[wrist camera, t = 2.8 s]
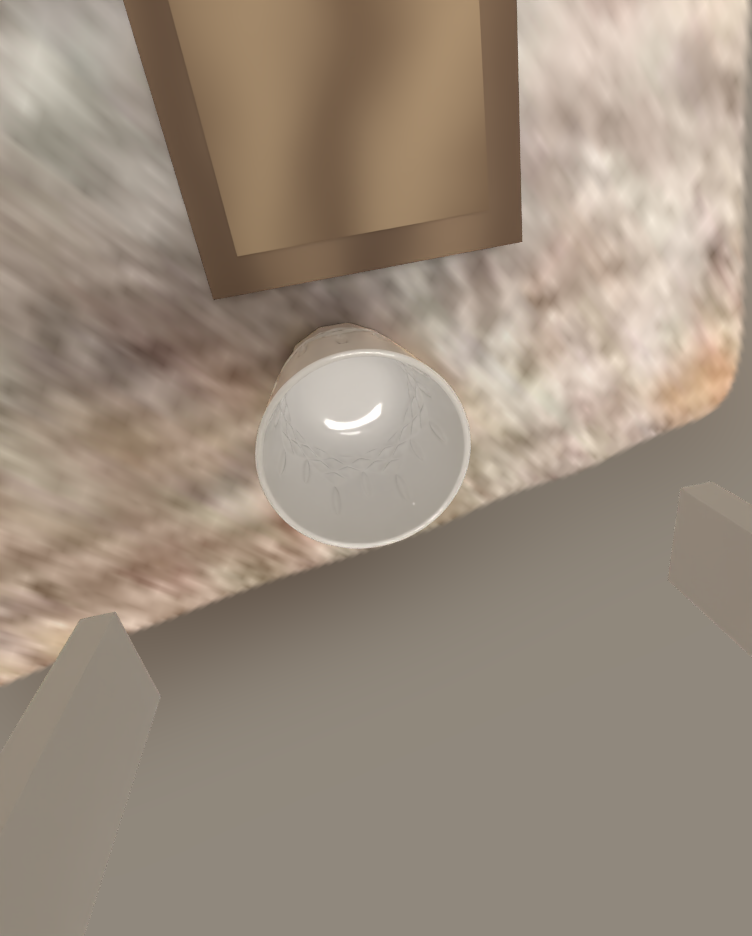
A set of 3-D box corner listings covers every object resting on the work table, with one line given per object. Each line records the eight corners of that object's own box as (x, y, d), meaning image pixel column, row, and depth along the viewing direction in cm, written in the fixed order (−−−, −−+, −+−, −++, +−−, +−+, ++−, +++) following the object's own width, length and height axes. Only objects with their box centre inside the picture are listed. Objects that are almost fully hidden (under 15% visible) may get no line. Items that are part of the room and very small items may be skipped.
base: (223, 293, 23) (213, 300, 21) (106, -112, 17) (67, -182, 14) (497, 241, 24) (523, 241, 21) (479, -164, 18) (513, -240, 15)
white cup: (329, 475, 28) (342, 582, 19) (240, 370, 25) (206, 440, 16) (439, 399, 27) (507, 475, 18) (361, 278, 24) (397, 299, 15)
